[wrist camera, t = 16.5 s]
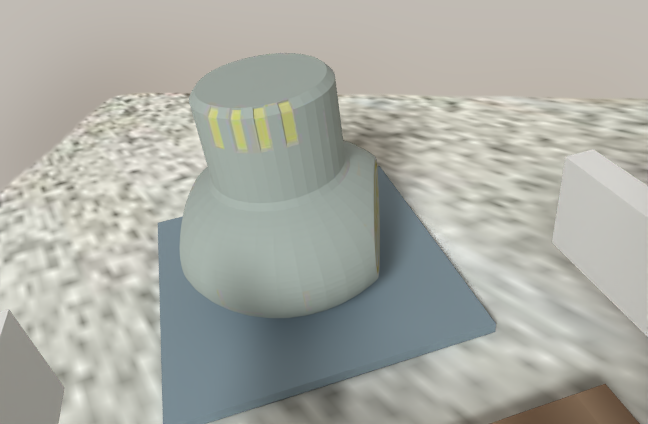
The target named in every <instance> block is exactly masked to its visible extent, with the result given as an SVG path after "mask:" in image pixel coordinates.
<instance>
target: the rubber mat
mask: <svg viewBox="0 0 648 424" xmlns="http://www.w3.org/2000/svg"><path fill="white" fill-rule="evenodd" d="M377 171H378V186H379V213H380V267H379V277H378V279H377V280H376V281H375V282H374V283H373V284H372V285H370V286H369V287H368V288H366V289H365V290H364V291H363V292H361V293H360V294H358V295H357V296H355V297H353V298H351V299H350V300H348V301H346V302H344V303H343V304H340V305H338V306H335V307H333V308H330V309H328V310H325V311H322V312H318V313H314V314H310V315H306V316H299V317H292V318H263V317H254V316H248V315H245V314H241V313H237V312H234V311H231V310H228V309H226V308H224V307H222V306H220V305H217V304H215V303H214V302H212V301H210V300H209V299H208V298H206V297H205V296H203V295H202V294H201V293H199V292H198V291H197V290H196V289H195V288H194V287H193V286H192V284H191V283H190V282H189V281H188V280H187V279H186V277H185V275H184V272H183V270H182V266H181V260H180V233H181V224H182V218H183V217H179V218H175V219H171V220H168V221H164V222H160V223H158V249H159V287H160V325H161V363H162V401H163V424H206V423H209V422H212V421H216V420H219V419H222V418H225V417H228V416H231V415H234V414H238V413H241V412H244V411H247V410H250V409H253V408H256V407H260V406H263V405H266V404H269V403H272V402H275V401H278V400H282V399H285V398H288V397H291V396H294V395H297V394H301V393H304V392H307V391H310V390H313V389H316V388H319V387H323V386H326V385H329V384H332V383H335V382H338V381H341V380H345V379H348V378H351V377H354V376H357V375H360V374H363V373H367V372H370V371H373V370H376V369H379V368H382V367H386V366H389V365H392V364H395V363H398V362H401V361H404V360H408V359H411V358H414V357H417V356H420V355H423V354H426V353H430V352H433V351H436V350H439V349H442V348H445V347H448V346H452V345H455V344H458V343H461V342H464V341H467V340H471V339H474V338H477V337H480V336H483V335H486V334H489V333H493V332H495V328H496V323H495V322H494V321H493V319H492V318H491V317H490V315H489V314H488V312H487V311H486V310H485V308H484V307H483V306H482V304H481V303H480V302H479V300H478V299H477V298H476V296H475V295H474V293H473V292H472V291H471V289H470V288H469V287H468V285H467V284H466V283H465V281H464V280H463V279H462V277H461V276H460V274H459V273H458V272H457V270H456V269H455V268H454V266H453V265H452V264H451V262H450V261H449V260H448V258H447V257H446V255H445V254H444V253H443V251H442V250H441V249H440V247H439V246H438V245H437V243H436V242H435V241H434V239H433V238H432V237H431V235H430V234H429V232H428V231H427V230H426V228H425V227H424V226H423V224H422V223H421V222H420V220H419V219H418V218H417V216H416V215H415V213H414V212H413V211H412V209H411V208H410V207H409V205H408V204H407V203H406V201H405V200H404V199H403V197H402V196H401V194H400V193H399V192H398V190H397V189H396V188H395V186H394V185H393V184H392V182H391V181H390V180H389V178H388V177H387V176H386V174H385V173H384V171H383V170H382V169H381V167H380V166H377Z"/></svg>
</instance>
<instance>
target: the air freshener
mask: <svg viewBox="0 0 648 424" xmlns="http://www.w3.org/2000/svg"><path fill="white" fill-rule="evenodd" d="M189 103H190V106H191V110H192V113H193V116H194V120H195V123H196V127H197V130H198V134H199V137H200V141H201V144H202V148H203V151H204V155H205V158H206V162H207V165H208V167H207V168H206V169H205V170H203V171H202V173H201V174H200V175H199V176H198V178H197V179H196V181H195V183H194V184H193V187H192V189H191V191H190V193H189V196H188V199H187V202H186V205H185V209H184V214H183V218H182V224H181V233H180V260H181V266H182V270H183V272H184V275H185V277H186V279H187V280H188V281H189V282H190V283H191V284H192V286H193V287H194V288H195V289H196V290H197V291H198V292H199V293H201V294H202V295H203V296H205V297H206V298H208V299H209V300H210V301H212V302H214V303H215V304H217V305H220V306H222V307H224V308H226V309H228V310H231V311H234V312H237V313H241V314H245V315H248V316H254V317H263V318H292V317H299V316H306V315H310V314H314V313H318V312H322V311H325V310H328V309H330V308H333V307H335V306H338V305H340V304H343V303H344V302H346V301H348V300H350V299H351V298H353V297H355V296H357V295H358V294H360V293H361V292H363V291H364V290H365V289H366V288H368V287H369V286H370V285H372V284H373V283H374V282H375V281H376V280H377V279H378V277H379V267H380V213H379V186H378V171H377V161H376V157H375V156H374V155H372V154H371V153H369V152H368V151H366V150H365V149H363V148H361V147H359V146H357V145H355V144H352V143H350V142H347V141H344V140H343V136H342V128H341V120H340V112H339V104H338V96H337V89H336V81H335V74H334V72H333V70H332V69H331V68H330V67H329V66H327V65H326V64H325V63H324V62H322V61H321V60H319V59H317V58H315V57H312V56H308V55H303V54H295V53H278V54H277V53H276V54H266V55H259V56H254V57H249V58H245V59H241V60H237V61H234V62H231V63H228V64H226V65H223V66H221V67H219V68H217V69H215V70H213V71H211V72H210V73H208V74H206V75H205V76H204V77H203V78H201V79H200V80H199V81H198V83H197V84H196V86H195V87H194V89H193V90H192V92H191V94H190V97H189Z"/></svg>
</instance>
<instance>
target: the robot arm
mask: <svg viewBox="0 0 648 424" xmlns="http://www.w3.org/2000/svg"><path fill="white" fill-rule="evenodd" d="M552 243H553V244H554V245H555V246H556V247H557V248H558V249H559V250H560V251H561V252H562V253H563V254H564V255H565V256H566V257H567V258H568V259H569V260H570V261H571V262H572V263H573V264H574V265H575V266H576V267H577V268H578V269H579V270H580V271H581V272H582V273H583V274H584V275H585V276H586V277H587V278H588V279H589V280H590V281H591V282H592V283H593V284H594V285H595V286H596V287H597V288H598V289H599V290H600V291H601V292H602V293H603V294H604V295H605V296H606V297H607V298H608V299H610V300H611V301H612V302H613V303H614V304H615V305H616V306H617V307H618V308H619V309H620V310H621V311H622V312H623V313H624V314H625V315H626V316H627V317H628V318H629V319H630V320H631V321H632V322H633V323H634V324H635V325H636V326H637V327H638V328H639V329H640V330H641V331H642V332H643V333H644V334H645V335H646V336H647V337H648V186H647V185H646V184H644V183H643V182H641V181H640V180H638V179H637V178H635V177H634V176H632V175H631V174H629V173H628V172H626V171H625V170H623V169H622V168H621V167H619V166H618V165H616V164H615V163H613V162H612V161H610V160H609V159H607V158H606V157H604V156H603V155H601V154H600V153H598V152H597V151H595V150H594V149H592V150H588V151H585V152H581V153H577V154H574V155H570V156H566V157H565V162H564V169H563V175H562V181H561V188H560V194H559V201H558V207H557V213H556V220H555V226H554V232H553V239H552ZM63 393H64V386H63V385H62V383H61V382H60V380H59V379H58V378H57V376H56V375H55V373H54V372H53V371H52V369H51V368H50V366H49V365H48V363H47V362H46V361H45V359H44V358H43V356H42V355H41V354H40V352H39V351H38V349H37V348H36V347H35V345H34V344H33V342H32V341H31V340H30V338H29V337H28V335H27V334H26V333H25V331H24V330H23V328H22V327H21V326H20V324H19V323H18V321H17V320H16V319H15V317H14V316H13V314H12V313H11V311H10V310H9V309H8V310H4V311H0V424H58V423H59V417H60V411H61V405H62V399H63Z"/></svg>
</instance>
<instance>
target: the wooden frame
mask: <svg viewBox="0 0 648 424" xmlns="http://www.w3.org/2000/svg"><path fill="white" fill-rule="evenodd" d="M490 424H639V422H638V421H637V420H636V419H635V418H634V417H633V415H632V414H631V413H630V412H629V411H628V410H627V408H626V407H625V406H624V405H623V404H622V403H621V401H620V400H619V399H618V398H617V397H616V396H615V394H614V393H613V392H612V391H611V390H610V389H609V387H608V386H607V385H606V384H603V385H600V386H597V387H594V388H591V389H589V390H586V391H583V392H580V393H577V394H574V395H571V396H568V397H565V398H562V399H560V400H557V401H554V402H551V403H548V404H545V405H542V406H539V407H536V408H533V409H531V410H528V411H525V412H522V413H519V414H516V415H513V416H510V417H507V418H504V419H502V420H499V421H496V422H493V423H490Z"/></svg>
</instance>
